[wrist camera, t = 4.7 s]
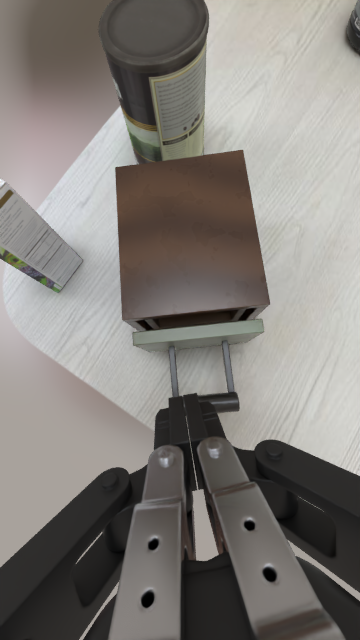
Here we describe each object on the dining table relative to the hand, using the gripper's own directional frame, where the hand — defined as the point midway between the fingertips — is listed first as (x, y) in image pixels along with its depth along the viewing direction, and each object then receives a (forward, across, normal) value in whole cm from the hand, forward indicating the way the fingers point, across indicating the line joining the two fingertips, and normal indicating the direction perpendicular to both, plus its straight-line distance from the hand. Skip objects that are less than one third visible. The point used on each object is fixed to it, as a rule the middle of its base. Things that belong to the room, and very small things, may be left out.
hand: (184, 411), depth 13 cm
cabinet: (+21, -3, -6) cm, 23 cm away
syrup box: (+24, +14, -10) cm, 30 cm away
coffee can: (+30, -4, -24) cm, 38 cm away
